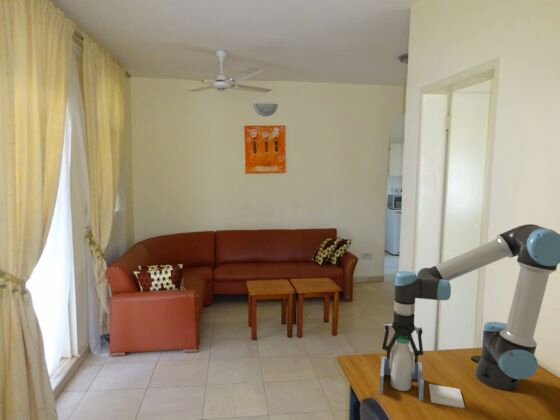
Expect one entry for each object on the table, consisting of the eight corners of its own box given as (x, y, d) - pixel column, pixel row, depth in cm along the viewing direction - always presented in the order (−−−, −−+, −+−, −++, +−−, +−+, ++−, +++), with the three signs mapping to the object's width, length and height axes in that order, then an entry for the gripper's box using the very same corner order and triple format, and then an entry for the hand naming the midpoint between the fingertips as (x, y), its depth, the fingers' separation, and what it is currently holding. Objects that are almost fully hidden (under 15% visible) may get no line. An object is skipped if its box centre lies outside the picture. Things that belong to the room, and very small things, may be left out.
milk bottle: (412, 392, 143) (414, 342, 141) (391, 390, 144) (393, 340, 142) (409, 381, 150) (412, 333, 148) (389, 379, 152) (391, 331, 150)
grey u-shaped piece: (420, 378, 152) (421, 362, 152) (422, 401, 138) (423, 383, 137) (381, 372, 157) (381, 356, 156) (379, 393, 142) (380, 375, 142)
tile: (459, 390, 144) (459, 388, 144) (464, 408, 134) (464, 406, 134) (428, 385, 148) (428, 383, 147) (431, 402, 137) (431, 400, 137)
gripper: (432, 311, 144) (429, 368, 147) (377, 305, 150) (375, 359, 153) (433, 319, 137) (430, 378, 140) (375, 312, 143) (373, 369, 146)
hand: (401, 368), depth 146 cm, fingers closed on milk bottle, 8 cm apart
